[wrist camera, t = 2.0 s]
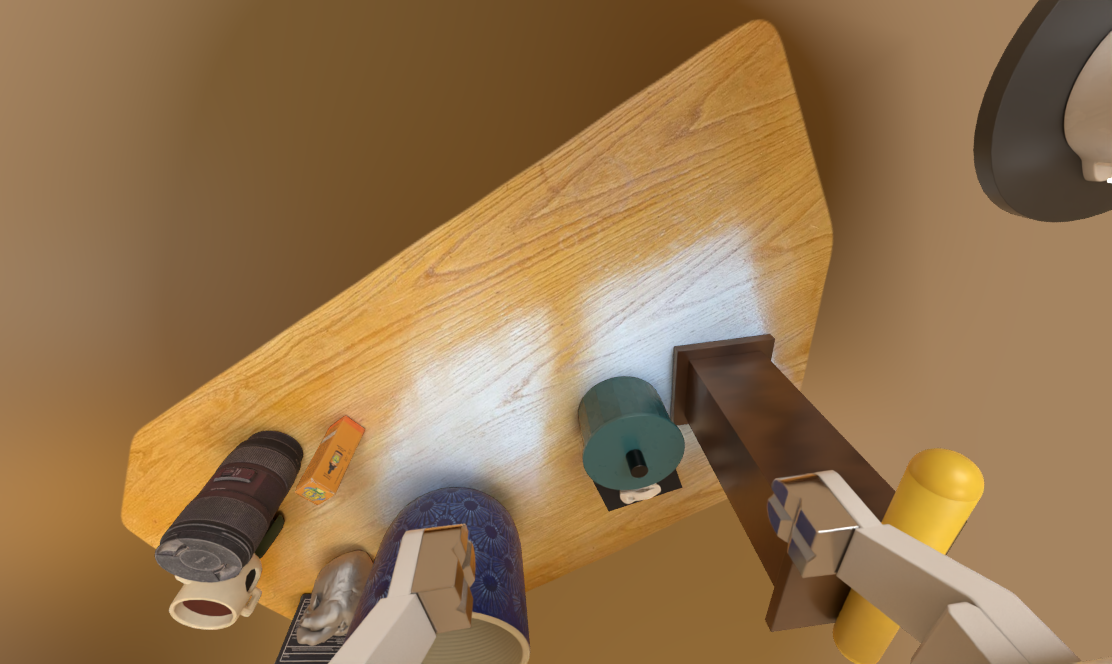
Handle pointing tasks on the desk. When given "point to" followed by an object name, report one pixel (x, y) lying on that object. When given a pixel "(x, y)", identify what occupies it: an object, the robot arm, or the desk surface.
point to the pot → (617, 402)
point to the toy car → (637, 492)
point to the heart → (334, 598)
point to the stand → (768, 458)
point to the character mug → (223, 592)
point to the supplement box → (330, 461)
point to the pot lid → (633, 451)
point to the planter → (498, 590)
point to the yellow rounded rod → (925, 514)
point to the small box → (304, 659)
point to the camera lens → (231, 510)
